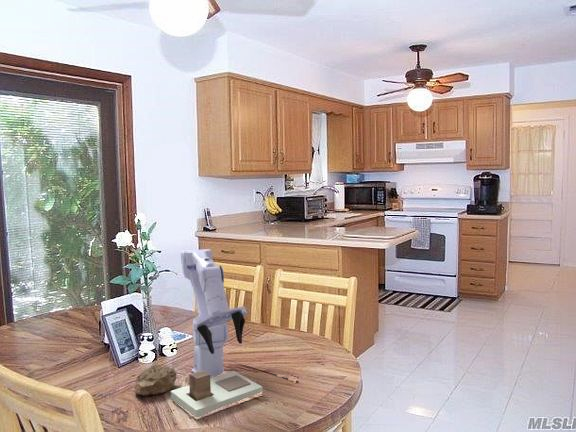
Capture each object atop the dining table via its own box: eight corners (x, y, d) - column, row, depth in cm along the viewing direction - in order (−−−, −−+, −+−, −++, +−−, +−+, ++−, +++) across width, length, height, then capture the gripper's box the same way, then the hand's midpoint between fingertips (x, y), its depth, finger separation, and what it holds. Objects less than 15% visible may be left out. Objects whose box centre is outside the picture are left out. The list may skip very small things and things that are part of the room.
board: (170, 400, 128) (170, 389, 127) (234, 379, 140) (234, 370, 140) (196, 420, 117) (196, 409, 117) (262, 395, 129) (262, 385, 129)
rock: (155, 403, 126) (154, 384, 126) (124, 395, 131) (123, 378, 130) (186, 383, 138) (185, 366, 138) (156, 377, 143) (155, 361, 142)
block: (189, 403, 126) (189, 373, 125) (203, 398, 128) (202, 369, 128) (197, 408, 123) (196, 378, 122) (211, 404, 125) (210, 374, 124)
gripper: (186, 305, 129) (193, 350, 121) (237, 286, 129) (248, 330, 121) (196, 316, 135) (203, 361, 126) (244, 299, 135) (255, 342, 126)
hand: (225, 347), depth 124 cm, fingers open, 7 cm apart
